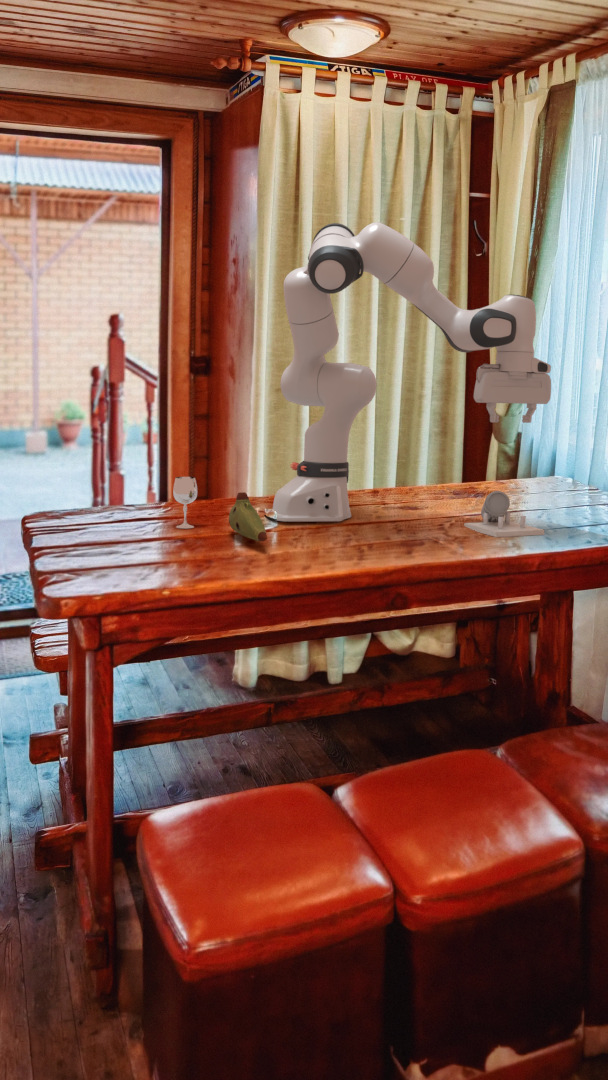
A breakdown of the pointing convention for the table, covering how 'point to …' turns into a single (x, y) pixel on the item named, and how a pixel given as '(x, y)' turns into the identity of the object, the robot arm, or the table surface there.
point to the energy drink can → (495, 505)
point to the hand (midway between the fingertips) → (510, 422)
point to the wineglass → (185, 494)
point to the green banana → (246, 519)
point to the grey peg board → (504, 527)
